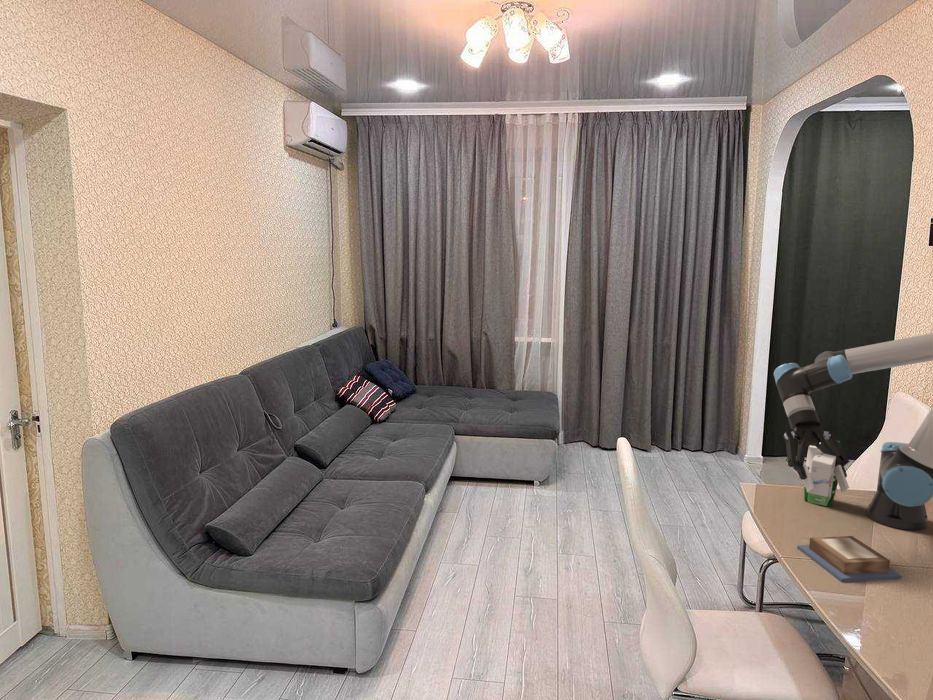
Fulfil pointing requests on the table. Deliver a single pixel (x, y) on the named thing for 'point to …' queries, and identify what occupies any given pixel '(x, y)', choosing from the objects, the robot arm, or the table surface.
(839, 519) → the table surface
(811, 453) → the milk carton
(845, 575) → the board
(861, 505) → the table surface
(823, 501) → the ink box
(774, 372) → the robot arm
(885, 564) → the walnut plinth
